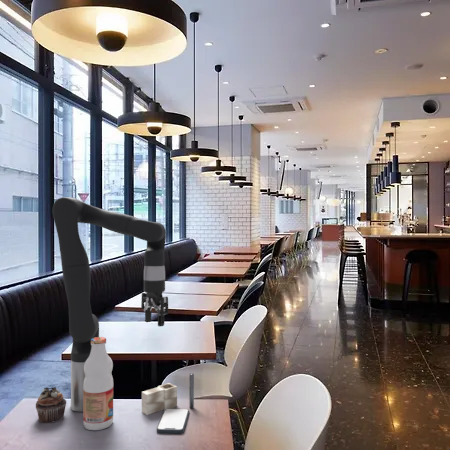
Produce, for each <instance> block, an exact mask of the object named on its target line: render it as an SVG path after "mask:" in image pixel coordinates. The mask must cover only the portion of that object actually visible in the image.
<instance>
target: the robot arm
mask: <svg viewBox="0 0 450 450" xmlns="http://www.w3.org/2000/svg"><path fill="white" fill-rule="evenodd" d="M52 217H53V221H54V225H55V230H56V233H57V237H58V238H57V239H58V245H59V252H60V262H61V268H62V269H61V270H62V278H63V284H64V289H65V295H66V299H67V303H68V304H67V305H68V329H69V330H68V331H69V332H68V333H69V335H70V337H71V338H72V347H71V351H70V409H71V410H72V411H74V412H82V413H83V384H84V379H85V372H84V364H85V361H86V360H87V359H88V357H89V355H90V352H91V348H92V345H91V339H92V338H96V337H100V323H99V319H98V317H97V316H96V314H93V312H92V306H91V286H92V285H91V282H92V280H91V267H90V260H89V256H88V253H87V251H86V249H85V247H84V244H83V242H82V240H81V236H80V234H79V231H80V230H79V224H87V225H88V224H90V225H94V226H98V227H101V228H103V229H106V230H108V231H111V232H114V233H117V234H120V235H125V236H128V237H133V238H134V237H135V238H136V239H139V240H143V241H146V249H145V251H144V262H143V263H144V268H143V292H141V304H140V305H141V307H140V308H141V310H143V312H144V322H145V323H150V322H151V323H152V309H154V310H155V311H156V313H157V326H158V327H164V326H165V316H166V315H168V314H169V297H168V296H163V293H164V292H166V267H165V247H166V237H167V232H166V227H165V226H164V225H163V224H162V223H160V222H158V221H157V222H156V221H149V220H145V219H140V218H138V217H135V216H133V215H129V214H125V213H119V212H116V211H112V210H111V211H110V210H106V209H102V208H99V207H96V206H93V205H91V204H88V203H86V202H84V201H82V200H79V198H75V197H69V196H67V197H66V196H62V197H59V198H58V199H56V201H54V203H53V206H52ZM78 223H79V224H78Z"/></svg>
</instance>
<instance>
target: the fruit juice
mask: <svg viewBox="0 0 450 450" xmlns="http://www.w3.org/2000/svg"><path fill="white" fill-rule="evenodd" d="M106 344H107V338H106V337H104V336H99V337H96V338H92V339H91V345H92V348H91V352H90V355H89V357H88V359H87V360H86V361H85V364H84V372H85V379H84V384H83V412H82V413H83V414H82V415H83V416H82V418H83V419H82V420H83V422H82V423H83V427H84V428H85V429H86V430H89V431H101V430H104V429H106V428H107V429H108V428H109V427H111V426H112V424H113V422H114V378H113V375H112V371H113V367H114V363H113V360H112V358H111V357H110V356H109V354H108V352H107V348H106Z"/></svg>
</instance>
